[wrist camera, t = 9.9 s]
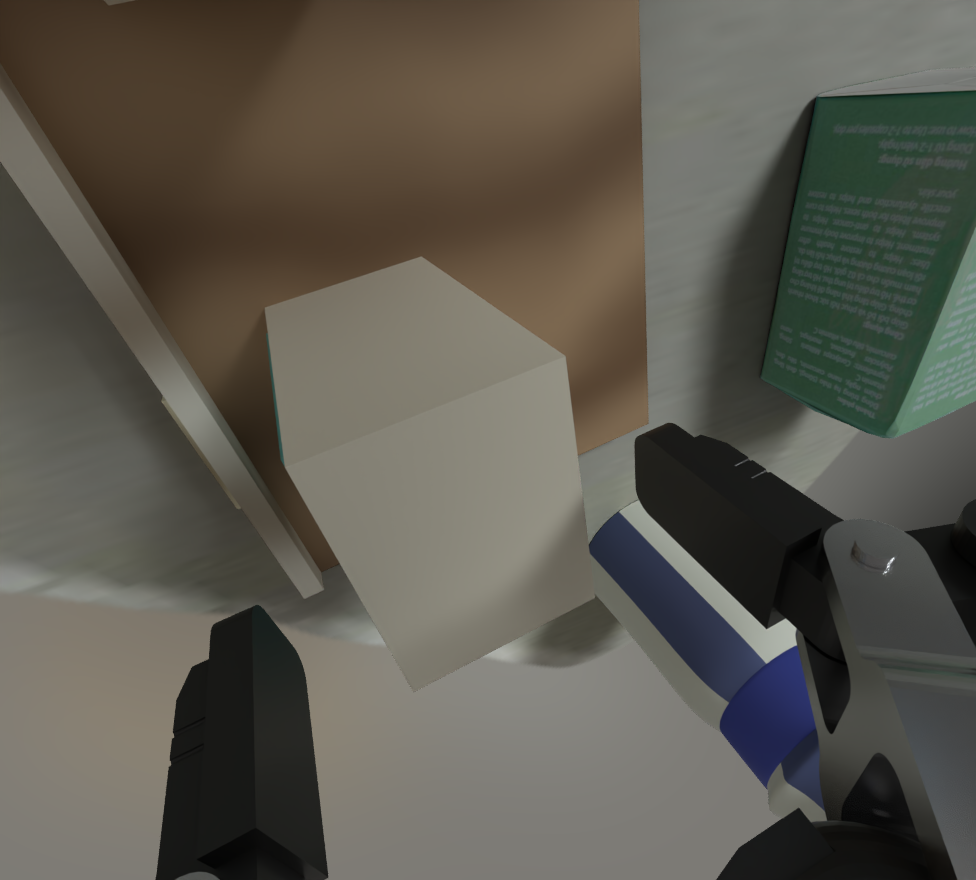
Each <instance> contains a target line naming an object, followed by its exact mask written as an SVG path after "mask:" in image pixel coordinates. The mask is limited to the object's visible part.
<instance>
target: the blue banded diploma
mask: <svg viewBox="0 0 976 880" xmlns="http://www.w3.org/2000/svg"><path fill="white" fill-rule="evenodd" d="M589 552H590V560H591V568H592V576H593V585H594V593H595V595H596V596H597V597H598V598H599V599H600V600H601V601H602V602H603V604H604V605H605V606H606V607H607V608H608V609H609V611H610V612H611V613H612V614H613V615H614V616H615V617H616V619H617V620H618V621H619V622H620V623H621V624H622V626H623V627H624V628H625V629H626V630H627V632H628V633H629V634H630V635H631V636H632V638H633V639H634V640H635V641H636V642H637V643H638V645H639V646H640V647H641V648H642V650H643V651H644V652H645V653H646V655H647V656H648V657H649V658H650V660H651V661H652V662H653V663H654V665H655V666H656V667H657V669H658V670H659V671H660V672H661V673H662V675H663V676H664V677H665V679H666V680H667V681H668V682H669V684H670V685H671V686H672V687H673V688H674V689H675V691H676V692H677V693H678V695H679V696H680V697H681V698H682V699H683V701H684V702H685V703H686V704H687V705H688V706H689V707H690V708H691V709H692V711H693V712H694V713H695V714H696V715H698V716H699V717H700V718H701V719H702V720H703V721H705V722H706V723H707V724H709V725H710V726H712V727H713V728H715V729H716V730H718V731H720V732H721V733H722V734H723V735H724V736H725V738H726V739H727V740H728V742H729V743H730V744H731V745H732V746H733V748H734V749H735V750H736V751H737V753H738V754H739V755H740V757H741V758H742V759H743V760H744V762H745V763H746V764H747V765H748V767H749V768H750V769H751V770H752V772H753V773H754V774H755V775H756V776H757V778H758V779H759V780H760V781H761V783H762V784H763V785H764V786H765V788H766V789H767V790H768V798H769V799H768V804H769V809H770V811H771V812H772V813H773V814H774V815H776V816H778V817H780V818H784V817H785V816H787V815H788V814H790V813H791V812H793V811H794V810H796V809H797V808H800V809H801V811H802V812H803V813H804V814H805V816H806V817H807V818H808V819H809V820H810V822H815V821H827V818H826V814H825V809H824V804H823V800H822V794H821V788H820V778H819V758H820V749H819V739H818V734H817V729H816V725H815V721H814V716H813V712H812V708H811V703H810V699H809V695H808V690H807V686H806V682H805V677H804V673H803V669H802V664H801V660H800V656H799V651H798V647H797V643H796V636H795V633H796V627H795V626H794V625H792V624H791V623H790V622H789V621H788V620H787V619H784V620H782V621H781V622H779V623H777V624H775V625H774V626H772V627H770V628H768V629H766V628H765V627H764V626H763V625H762V624H761V623H759V622H758V621H757V620H756V619H755V618H754V617H753V616H752V615H751V614H750V613H749V612H748V611H747V610H746V609H745V608H744V607H743V606H742V605H741V604H740V603H739V602H738V601H737V600H736V599H735V598H734V597H733V596H732V595H731V594H730V593H729V592H728V591H727V590H726V589H725V588H723V587H722V586H721V585H720V584H719V583H718V582H717V581H716V580H715V579H714V578H713V577H712V576H711V575H710V574H709V573H708V572H707V571H706V570H705V569H704V568H703V567H702V566H701V565H700V564H699V563H698V562H697V561H696V560H695V559H694V558H693V557H692V556H691V555H690V554H688V553H687V552H686V551H685V550H684V549H683V548H682V547H681V546H680V545H679V544H678V543H677V542H676V541H675V540H674V539H673V538H672V537H671V536H670V535H669V534H668V533H667V532H666V531H665V530H664V529H663V528H662V527H661V526H660V525H659V524H658V523H657V522H656V521H655V520H654V519H652V518H651V517H650V516H649V514H648V513H647V512H646V511H645V510H644V508H643V506H642V505H641V503H640V501H639V500H638V501H636V502H634V503H632V504H630V505H628V506H626V507H625V508H623V509H622V510H620V511H619V512H618V513H616V514H615V515H614V516H613V517H611V518H610V519H609V520H608V521H607V522H606V523H605V524H604V525H603V526H602V528H601V529H600V530H599V531H598V532H597V534H596V535H595V537H594V538H593V540H592V541H591V543H590V545H589Z"/></svg>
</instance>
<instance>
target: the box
mask: <svg viewBox="0 0 976 880" xmlns="http://www.w3.org/2000/svg"><path fill="white" fill-rule="evenodd" d="M760 378H761V379H762V380H764V381H765V382H767V383H769V384H771V385H773V386H775V387H776V388H778V389H779V390H781V391H783V392H784V393H786V394H787V395H789V396H791V397H792V398H794V399H796V400H797V401H799V402H801V403H802V404H804V405H806V406H807V407H809V408H811V409H812V410H814V411H816V412H819V413H821V414H824V415H826V416H829V417H831V418H834V419H836V420H839V421H841V422H844V423H846V424H849V425H851V426H853V427H855V428H857V429H860V430H862V431H864V432H866V433H869V434H873V435H876V436H880V437H882V438H895V437H898V436H900V435H902V434H905V433H907V432H909V431H912V430H914V429H916V428H919V427H921V426H923V425H925V424H927V423H930V422H932V421H934V420H936V419H938V418H941V417H943V416H945V415H947V414H949V413H951V412H953V411H955V410H957V409H959V408H961V407H963V406H965V405H967V404H970V403H972V402H974V401H976V67H965V68H946V69H934V70H927V71H921V72H916V73H911V74H906V75H901V76H896V77H891V78H886V79H881V80H876V81H871V82H866V83H861V84H856V85H851V86H847V87H843V88H839V89H835V90H831V91H828V92H824V93H821V94H819V95H818V96H817V98H816V103H815V108H814V113H813V118H812V123H811V128H810V133H809V137H808V142H807V147H806V151H805V156H804V161H803V165H802V170H801V175H800V180H799V185H798V189H797V194H796V199H795V204H794V209H793V213H792V219H791V224H790V229H789V235H788V240H787V245H786V251H785V256H784V261H783V267H782V272H781V277H780V282H779V287H778V292H777V298H776V303H775V308H774V313H773V318H772V323H771V328H770V333H769V338H768V343H767V348H766V353H765V358H764V363H763V368H762V372H761V376H760Z"/></svg>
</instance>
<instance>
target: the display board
mask: <svg viewBox="0 0 976 880" xmlns="http://www.w3.org/2000/svg"><path fill="white" fill-rule="evenodd" d="M0 162H1V163H2V165H3V166H4V168H5V169H6V170H7V172H8V173H9V175H10V176H11V178H12V179H13V181H14V182H15V183H16V185H17V186H18V188H19V189H20V191H21V192H22V194H23V195H24V196H25V198H26V199H27V201H28V202H29V204H30V205H31V206H32V208H33V209H34V211H35V212H36V214H37V215H38V217H39V218H40V219H41V221H42V222H43V224H44V225H45V227H46V228H47V230H48V231H49V232H50V234H51V235H52V237H53V238H54V240H55V241H56V242H57V244H58V245H59V247H60V248H61V250H62V251H63V253H64V254H65V255H66V257H67V258H68V260H69V261H70V263H71V264H72V265H73V267H74V268H75V270H76V271H77V273H78V274H79V276H80V277H81V278H82V280H83V281H84V283H85V284H86V286H87V287H88V289H89V290H90V291H91V293H92V294H93V296H94V297H95V299H96V300H97V301H98V303H99V304H100V306H101V307H102V309H103V310H104V312H105V313H106V314H107V316H108V317H109V319H110V320H111V322H112V323H113V324H114V326H115V327H116V329H117V330H118V332H119V333H120V335H121V336H122V337H123V339H124V340H125V342H126V343H127V345H128V346H129V348H130V349H131V350H132V352H133V353H134V355H135V356H136V358H137V359H138V360H139V362H140V363H141V365H142V366H143V368H144V369H145V371H146V372H147V373H148V375H149V376H150V378H151V379H152V381H153V382H154V384H155V385H156V386H157V388H158V389H159V391H160V392H161V394H162V395H163V397H162V400H161V402H162V403H163V404H164V406H165V407H166V409H167V410H168V412H169V413H170V414H171V416H172V417H173V419H174V420H175V422H176V423H177V424H178V426H179V427H180V429H181V430H182V432H183V433H184V434H185V436H186V437H187V439H188V440H189V441H190V443H191V444H192V446H193V447H194V449H195V450H196V451H197V453H198V454H199V456H200V457H201V459H202V460H203V461H204V463H205V464H206V466H207V467H208V469H209V470H210V471H211V473H212V474H213V476H214V477H215V478H216V480H217V481H218V483H219V484H220V486H221V487H222V488H223V490H224V491H225V493H226V494H227V496H228V497H229V498H230V500H231V501H232V503H233V504H234V506H235V507H236V508H237V510H238V509H242V510H243V512H244V513H245V514H246V516H247V517H248V519H249V520H250V522H251V523H252V525H253V526H254V527H255V529H256V530H257V532H258V533H259V535H260V536H261V538H262V539H263V540H264V542H265V543H266V545H267V546H268V548H269V549H270V550H271V552H272V553H273V555H274V556H275V558H276V559H277V561H278V562H279V563H280V565H281V566H282V568H283V569H284V571H285V572H286V573H287V575H288V576H289V578H290V579H291V581H292V582H293V584H294V585H295V586H296V588H297V589H298V591H299V592H300V594H301V595H302V597H303V598H304V599H306V598H308V597H310V596H312V595H314V594H317V593H319V592H321V591H323V590H324V586H323V580H322V575H321V572H323V571H325V570H327V569H330V568H332V567H334V566H336V565H338V564H340V563H339V561H338V559H337V558H336V556H335V554H334V552H333V551H332V549H331V547H330V545H329V544H328V542H327V540H326V538H325V537H324V535H323V533H322V531H321V530H320V528H319V526H318V524H317V523H316V521H315V519H314V518H313V516H312V514H311V512H310V511H309V509H308V507H307V505H306V504H305V502H304V500H303V498H302V497H301V495H300V493H299V491H298V490H297V488H296V486H295V484H294V483H293V481H292V479H291V477H290V476H289V474H288V472H287V470H286V469H285V466H284V465H283V463H282V461H281V458H280V449H279V441H278V432H277V424H276V415H275V407H274V398H273V390H272V381H271V373H270V364H269V356H268V347H267V339H266V333H268V331H267V323H266V315H265V307H268V306H271V305H274V304H277V303H280V302H283V301H287V300H290V299H293V298H296V297H299V296H302V295H305V294H308V293H311V292H314V291H317V290H320V289H323V288H326V287H329V286H332V285H336V284H339V283H342V282H345V281H348V280H351V279H354V278H357V277H360V276H363V275H366V274H369V273H372V272H375V271H378V270H381V269H385V268H388V267H391V266H394V265H397V264H400V263H403V262H406V261H409V260H412V259H415V258H418V257H421V256H422V257H423V258H425V259H426V260H427V261H429V262H430V263H432V264H433V265H435V266H436V267H438V268H439V269H440V270H442V271H443V272H445V273H446V274H448V275H449V276H451V277H452V278H453V279H455V280H456V281H458V282H459V283H461V284H462V285H464V286H465V287H466V288H468V289H469V290H471V291H472V292H474V293H475V294H477V295H478V296H479V297H481V298H482V299H484V300H485V301H487V302H488V303H490V304H491V305H492V306H494V307H495V308H497V309H498V310H500V311H501V312H503V313H504V314H505V315H507V316H508V317H510V318H511V319H513V320H514V321H516V322H517V323H518V324H520V325H521V326H523V327H524V328H526V329H527V330H529V331H530V332H531V333H533V334H534V335H536V336H537V337H539V338H540V339H542V340H543V341H544V342H546V343H547V344H549V345H550V346H552V347H553V348H555V349H556V350H557V351H559V352H560V353H562V354H563V355H565V356H566V364H567V372H568V380H569V388H570V396H571V405H572V413H573V421H574V429H575V437H576V446H577V454H578V455H581V454H583V453H585V452H587V451H589V450H592V449H594V448H596V447H598V446H600V445H603V444H605V443H607V442H609V441H611V440H614V439H616V438H618V437H620V436H622V435H625V434H627V433H629V432H631V431H633V430H636V429H638V428H640V427H642V426H644V425H647V424H648V381H647V338H646V295H645V252H644V208H643V165H642V122H641V78H640V35H639V0H134V1H129V2H124V3H119V4H114V5H108V4H107V3H106V2H105V1H104V0H0Z"/></svg>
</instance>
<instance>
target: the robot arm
mask: <svg viewBox="0 0 976 880" xmlns="http://www.w3.org/2000/svg"><path fill="white" fill-rule="evenodd" d="M635 479H636V492H637V496H638V498H639V501H640V503H641V505H642V506H643V508H644V510H645V511H646V512H647V513H648V514H649V516H650V517H651V518H652V519H654V520H655V521H656V522H657V523H658V524H659V525H660V526H661V527H662V528H663V529H664V530H665V531H666V532H667V533H668V534H669V535H670V536H671V537H672V538H673V539H674V540H675V541H676V542H677V543H678V544H679V545H680V546H681V547H682V548H683V549H684V550H685V551H686V552H687V553H688V554H690V555H691V556H692V557H693V558H694V559H695V560H696V561H697V562H698V563H699V564H700V565H701V566H702V567H703V568H704V569H705V570H706V571H707V572H708V573H709V574H710V575H711V576H712V577H713V578H714V579H715V580H716V581H717V582H718V583H719V584H720V585H721V586H722V587H723V588H725V589H726V590H727V591H728V592H729V593H730V594H731V595H732V596H733V597H734V598H735V599H736V600H737V601H738V602H739V603H740V604H741V605H742V606H743V607H744V608H745V609H746V610H747V611H748V612H749V613H750V614H751V615H752V616H753V617H754V618H755V619H756V620H757V621H758V622H759V623H761V624H762V625H763V626H764V627H765V628H766V629H768V628H770V627H772V626H774V625H775V624H777V623H779V622H781V621H782V620H784V619H787V620H788V621H789V622H790V623H791V624H792V625H794V626H795V627H796V633H795V636H796V643H797V647H798V651H799V656H800V660H801V664H802V669H803V673H804V677H805V682H806V686H807V690H808V695H809V699H810V703H811V708H812V712H813V716H814V721H815V725H816V729H817V734H818V739H819V749H820V758H819V778H820V788H821V794H822V800H823V804H824V809H825V814H826V818H827V821H815V822H810V820H809V819H808V818H807V817H806V816H805V814H804V813H803V812H802V811H801V809H800V808H797V809H796V810H794V811H793V812H791V813H790V814H788V815H787V816H785V817H784V818H782V819H781V820H779V821H778V822H776V823H775V824H774V825H772V826H771V827H769V828H768V829H766V830H765V831H763V832H762V833H760V834H759V835H757V836H756V837H754V838H753V839H751V840H750V841H748V842H747V843H745V844H744V845H742V846H741V847H740V848H738V850H737V851H736V853H735V854H734V855H733V857H732V858H731V860H730V861H729V862H728V864H727V865H726V867H725V868H724V870H723V871H722V872H721V874H720V875H719V877H718V878H717V880H976V500H973V501H971V502H969V503H968V504H967V505H966V506H965V507H964V509H963V511H962V513H961V515H960V516H959V518H958V521H957V522H956V523H954V524H949V525H943V526H936V527H930V528H925V529H919V530H912V531H905V532H903V531H901V530H900V529H897V528H896V527H893V526H891V525H888V524H884V523H881V522H878V521H873V520H865V519H852V520H845V521H844V520H842V519H841V518H839V517H837V516H836V515H834V514H832V513H831V512H829V511H828V510H826V509H825V508H823V507H822V506H820V505H819V504H817V503H816V502H814V501H813V500H811V499H810V498H808V497H807V496H805V495H804V494H802V493H801V492H799V491H798V490H796V489H795V488H793V487H792V486H790V485H789V484H787V483H786V482H784V481H783V480H781V479H780V478H778V477H777V476H775V475H774V474H772V473H771V472H769V473H768V472H766V469H765V468H763V467H762V466H760V465H759V464H757V463H756V462H754V461H753V460H752V461H750V460H749V459H748V457H747V456H745V455H744V454H742V453H741V452H739V451H738V450H736V449H735V448H733V447H732V446H730V445H729V444H727V443H725V442H722V441H719V440H716V439H712V438H709V437H706V436H703V435H699V436H697V437H695V438H694V437H693V436H692V435H690V434H689V433H687V432H686V431H684V430H683V429H682V428H680V427H679V426H677V425H676V424H673V423H666V424H664V425H662V426H660V427H657V428H655V429H653V430H651V431H648V432H646V433H644V434H642V435H639V436H638V437H637V438H636V439H635ZM173 733H174V738H173V739H172V744H171V752H170V761H171V766H170V767H169V770H168V779H167V787H166V796H165V805H164V814H163V822H162V831H161V840H160V849H159V858H158V866H157V875H156V880H325V879H326V878H328V870H327V861H326V852H325V843H324V835H323V825H322V817H321V808H320V799H319V790H318V781H317V772H316V764H315V755H314V746H313V737H312V728H311V720H310V710H309V702H308V693H307V684H306V677H305V672H304V669H303V665H302V663H301V660H300V658H299V655H298V653H297V652H296V650H295V648H294V647H293V646H292V644H291V643H290V642H289V641H288V639H287V638H286V637H285V636H284V634H283V633H282V632H281V630H280V629H279V628H278V627H277V625H276V624H275V623H274V622H273V620H272V619H271V618H270V617H269V615H268V614H267V613H266V612H265V610H264V609H263V608H262V607H261V606H259V605H255V606H253V607H251V608H248V609H246V610H244V611H242V612H240V613H237V614H235V615H233V616H231V617H228V618H226V619H224V620H222V621H219V622H217V623H215V624H214V625H213V627H212V629H211V635H210V651H209V659H208V660H206V661H204V662H202V663H199V664H197V665H195V666H193V667H192V668H191V670H190V672H189V674H188V677H187V679H186V681H185V683H184V685H183V687H182V689H181V691H180V694H179V696H178V698H177V700H176V709H175V718H174V727H173Z"/></svg>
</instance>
